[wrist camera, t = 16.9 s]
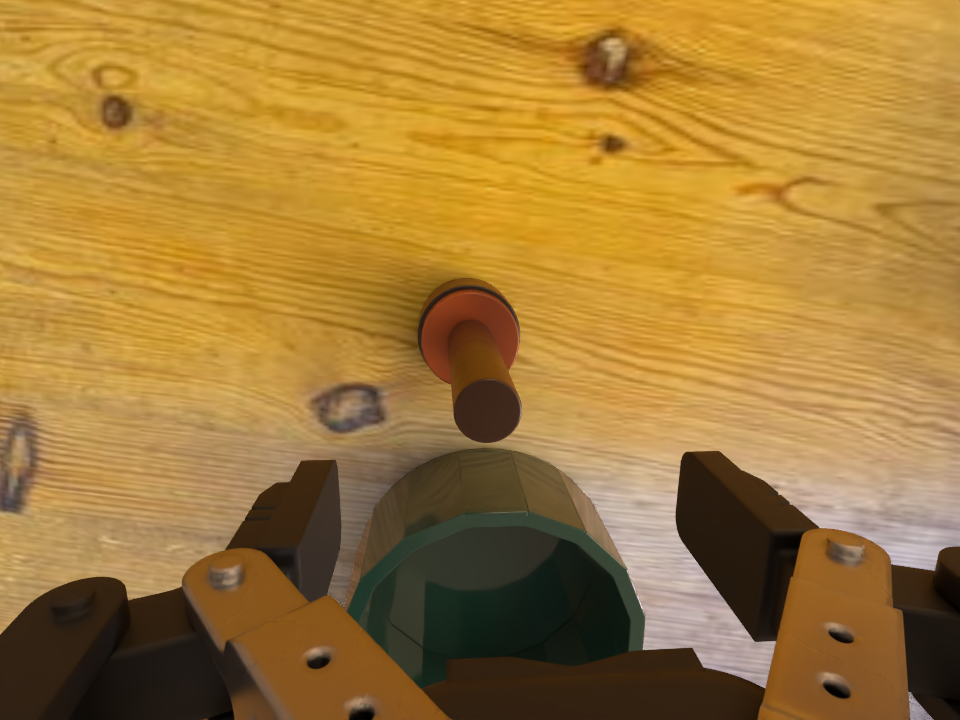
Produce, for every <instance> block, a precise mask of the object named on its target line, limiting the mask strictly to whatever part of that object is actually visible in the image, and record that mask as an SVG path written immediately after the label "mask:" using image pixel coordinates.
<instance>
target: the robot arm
mask: <svg viewBox="0 0 960 720" xmlns="http://www.w3.org/2000/svg"><path fill="white" fill-rule="evenodd" d="M676 525H677V530H678V533H679V536H680V538H681V540H682V542H683V543H684V544H685V546H686V547H687V549H688V550H689V551H690V553H691V554H692V556H693V557H694V558H695V560H696V561H697V562H698V564H699V565H700V567H701V568H702V569H703V571H704V572H705V573H706V575H707V576H708V578H709V579H710V580H711V582H712V583H713V584H714V586H715V587H716V589H717V590H718V591H719V593H720V594H721V596H722V597H723V598H724V600H725V601H726V602H727V604H728V605H729V607H730V608H731V609H732V611H733V612H734V613H735V615H736V616H737V618H738V619H739V620H740V622H741V623H742V625H743V626H744V627H745V629H746V630H747V631H748V633H749V634H750V636H751V637H752V638H753V640H754V641H755V642H763V641H776V645H775V650H774V654H773V659H772V663H771V667H770V672H769V676H768V681H767V685H766V689H765V688H763V687H761V686H759V685H757V684H755V683H752V682H750V681H748V680H745V679H743V678H740V677H737V676H734V675H731V674H728V673H725V672H721V671H717V670H713V669H708V668H703V666H702V664H701V662H700V661H699V659H698V657H697V655H696V654H695V652H694V650H693V648H678V649H657V650H637V651H630V652H626V653H623V654H619V655H615V656H612V657H608V658H605V659H601V660H597V661H594V662H590V663H586V664H583V665H578V666H568V665H561V664H554V663H547V662H541V661H534V660H527V659H521V658H514V657H490V658H469V659H449V660H447V680H444V681H441V682H437V683H435V684H432V685H429V686H427V687H424V688H422V689H420V688H419V687H418V686H417V685H416V683H415V682H414V681H413V680H412V679H411V678H410V677H409V676H408V675H407V674H406V673H405V672H404V671H403V670H402V669H401V668H400V667H399V666H398V665H397V664H396V663H395V662H394V661H393V660H392V658H391V657H390V656H389V655H388V654H387V653H386V652H385V651H384V650H383V649H382V648H381V647H380V646H379V645H378V644H377V643H376V642H375V641H374V640H373V639H372V638H371V637H370V636H369V635H368V633H367V632H366V631H365V630H364V629H363V628H362V627H361V626H360V625H359V624H358V623H357V622H356V621H355V620H354V619H353V618H352V617H351V616H350V615H349V614H348V613H347V612H346V611H345V610H344V609H343V607H342V606H341V605H340V604H339V603H338V602H337V601H336V600H335V599H334V598H332V597H331V596H328V595H327V592H328V588H329V585H330V581H331V578H332V574H333V571H334V567H335V564H336V561H337V557H338V554H339V549H340V543H341V512H340V496H339V480H338V468H337V463H336V460H305V461H301V462H300V464H299V466H298V468H297V470H296V471H295V473H294V475H293V477H292V479H291V481H290V482H283V483H275V484H274V485H272V486H271V487H270V488H268V489H267V490H265V491H264V492H262V493H261V494H260V495H259V496H258V498H257V500H256V501H255V503H254V505H253V506H252V510H250V511H249V513H248V514H247V516H246V517H245V521H243V522H242V524H241V525H240V527H239V529H238V530H237V532H236V534H235V535H234V537H233V538H232V540H231V542H230V543H229V545H228V546H227V548H226V550H224V551H220V552H217V553H214V554H212V555H209V556H207V557H205V558H203V559H201V560H199V561H198V562H196V563H195V564H194V565H192V566H191V567H190V568H189V569H188V570H187V571H186V573H185V574H184V576H183V579H182V587H180V588H177V589H174V590H171V591H167V592H163V593H159V594H155V595H150V596H146V597H141V598H137V599H133V600H128V598H127V592H126V587H125V585H124V584H123V583H122V582H121V581H120V580H117V579H115V578H110V577H93V578H86V579H81V580H77V581H73V582H70V583H67V584H64V585H62V586H59V587H57V588H55V589H52V590H51V591H49V592H47V593H45V594H43V595H42V596H40V597H38V598H37V599H36V600H34V601H33V602H32V603H30V604H29V605H28V606H27V607H26V608H25V609H24V610H23V611H22V612H21V613H20V614H19V615H18V617H17V618H16V619H15V620H14V621H13V622H12V623H11V624H10V625H9V626H8V627H7V628H6V629H5V630H4V631H3V633H2V634H1V635H0V720H910V709H909V695H908V691H909V692H911V693H912V695H913V696H914V698H915V699H916V700H917V702H918V703H919V704H920V705H921V706H922V707H923V708H924V709H925V710H926V712H927V713H928V714H929V715H930V716H931V717H932V718H933V719H934V720H960V547H948V548H945V549H942V550H941V551H940V552H939V555H938V560H937V564H936V568H935V571H931V570H925V569H918V568H911V567H904V566H897V565H892V564H891V560H890V557H889V555H888V554H887V553H886V551H885V550H883V549H882V548H881V547H880V546H878V545H877V544H875V543H874V542H872V541H870V540H868V539H866V538H863V537H861V536H859V535H856V534H853V533H849V532H846V531H842V530H836V529H827V528H819V527H818V526H817V525H816V524H815V523H813V522H812V521H811V520H810V519H809V518H807V517H806V516H805V515H804V514H803V513H802V512H800V511H799V510H798V509H797V508H796V507H794V506H793V505H790V502H789V501H787V500H786V499H785V498H784V497H783V496H781V495H778V492H777V491H776V490H774V489H773V488H772V487H771V486H770V485H768V484H767V483H766V482H765V481H763V480H761V479H759V478H757V477H755V476H753V475H751V474H749V473H747V472H745V471H742V470H740V469H739V468H738V467H737V466H736V465H735V464H734V463H732V462H731V461H730V460H729V459H728V458H727V457H726V456H724V455H723V454H722V453H721V452H719V451H700V452H686V453H684V455H683V457H682V460H681V466H680V476H679V485H678V495H677V505H676Z"/></svg>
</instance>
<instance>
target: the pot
mask: <svg viewBox="0 0 960 720" xmlns="http://www.w3.org/2000/svg"><path fill="white" fill-rule="evenodd" d="M344 610H345V611H346V612H347V613H348V614H349V615H350V616H351V617H352V618H353V619H354V620H355V621H356V622H357V623H358V624H359V625H360V626H361V627H362V628H363V629H364V630H365V631H366V632H367V633H368V635H369V636H370V637H371V638H372V639H373V640H374V641H375V642H376V643H377V644H378V645H379V646H380V647H381V648H382V649H383V650H384V651H385V652H386V653H387V654H388V655H389V656H390V657H391V658H392V660H393V661H394V662H395V663H396V664H397V665H398V666H399V667H400V668H401V669H402V670H403V671H404V672H405V673H406V674H407V675H408V676H409V677H410V678H411V679H412V680H413V681H414V682H415V683H416V685H417V686H418V687H419V688H420V689H422V688H424V687H427V686H429V685H432V684H435V683H437V682H441V681H444V680H447V660H449V659H469V658H490V657H514V658H521V659H527V660H534V661H541V662H547V663H554V664H561V665H568V666H578V665H583V664H586V663H590V662H594V661H597V660H601V659H605V658H608V657H612V656H615V655H619V654H623V653H626V652H630V651H637V650H643V640H644V628H645V613H644V610H643V608H642V605H641V603H640V600H639V598H638V595H637V593H636V590H635V588H634V585H633V582H632V580H631V577H630V575H629V572H628V570H627V568H626V566H625V564H624V562H623V560H622V558H621V556H620V554H619V553H618V551H617V549H616V547H615V545H614V543H613V541H612V539H611V537H610V535H609V533H608V532H607V530H606V528H605V526H604V524H603V522H602V520H601V518H600V516H599V514H598V513H597V511H596V509H595V507H594V505H593V503H592V501H591V500H590V499H589V498H588V497H587V496H586V495H585V494H584V493H583V491H582V490H581V489H580V488H579V487H578V486H577V485H576V484H575V483H574V482H573V480H571V479H570V478H569V477H568V476H566V475H565V474H564V473H563V472H562V471H560V470H559V469H557V468H555V467H554V466H552V465H550V464H549V463H547V462H545V461H543V460H540V459H538V458H536V457H533V456H530V455H527V454H524V453H520V452H516V451H510V450H504V449H487V448H482V449H471V450H464V451H459V452H454V453H450V454H447V455H444V456H441V457H438V458H435V459H433V460H431V461H429V462H427V463H425V464H423V465H421V466H419V467H417V468H416V469H414V470H413V471H411V472H410V473H408V474H406V475H405V476H404V477H403V478H402V479H400V480H399V481H398V482H397V483H396V484H394V485H393V486H392V487H391V489H390V490H389V491H388V492H387V493H386V494H385V495H384V496H383V497H382V499H381V500H380V502H379V503H378V504H377V505H376V506H375V507H374V510H373V512H372V515H371V517H370V519H369V521H368V523H367V525H366V528H365V531H364V534H363V537H362V539H361V542H360V544H359V546H358V549H357V553H356V558H355V562H354V566H353V571H352V575H351V579H350V583H349V588H348V592H347V596H346V601H345V605H344Z"/></svg>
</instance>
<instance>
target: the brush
mask: <svg viewBox="0 0 960 720" xmlns="http://www.w3.org/2000/svg"><path fill="white" fill-rule="evenodd" d="M519 342H520V327H519V322H518V319H517V316H516V314H515V312H514V310H513V308H512V307H511V305H510V304H509V303H508V301H507V300H506V299H505V297H504V296H503V295H502V294H501V293H500V291H498V290H497V289H496V288H495V287H493V286H492V285H490V284H489V283H486V282H484V281H481V280H478V279H473V278H460V279H455V280H452V281H449V282H447V283H445V284H443V285H441V286H440V287H438V288H437V289H436V290H435V291H433V292H432V294H431V295H430V296H429V297H428V299H427V300H426V302H425V304H424V306H423V308H422V311H421V314H420V320H419V327H418V344H419V348H420V352H421V354H422V357H423V358H424V360H425V362H426V363H427V365H428V366H429V368H430V369H431V370H432V371H433V373H434V374H435V375H436V376H438V377H439V378H440V379H441V380H443V381H445V382H446V383H448V384H451V386H452V399H453V411H454V419H455V422H456V424H457V426H458V428H459V429H460V431H461V432H462V433H463V434H464V435H465V436H467V437H468V438H470V439H472V440H474V441H477V442H482V443H491V442H496V441H499V440H502V439H504V438H505V437H507V436H508V435H510V434H511V433H512V432H513V431H514V430H515V428H516V427H517V425H518V423H519V421H520V418H521V414H522V405H521V401H520V398H519V395H518V393H517V391H516V389H515V386H514V384H513V382H512V379H511V377H510V375H509V372H508V370H509V369H510V367H511V366H512V364H513V362H514V360H515V358H516V356H517V353H518V348H519Z"/></svg>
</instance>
